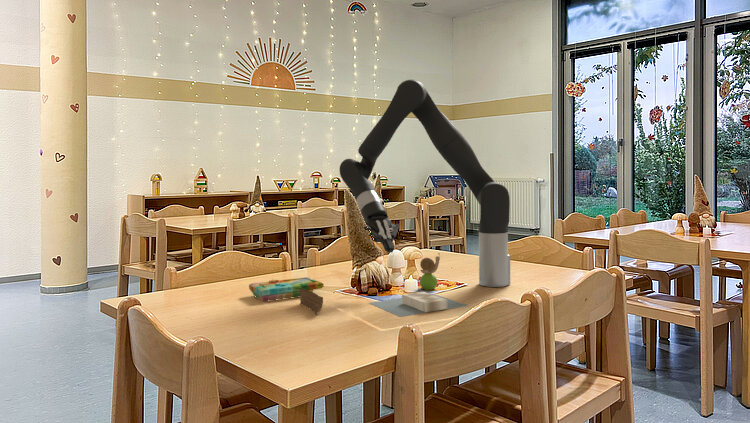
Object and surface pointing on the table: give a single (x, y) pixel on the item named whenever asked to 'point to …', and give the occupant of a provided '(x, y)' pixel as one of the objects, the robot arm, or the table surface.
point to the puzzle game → (283, 288)
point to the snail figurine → (429, 273)
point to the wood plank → (311, 300)
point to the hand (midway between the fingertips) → (391, 250)
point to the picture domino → (424, 301)
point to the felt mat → (404, 310)
